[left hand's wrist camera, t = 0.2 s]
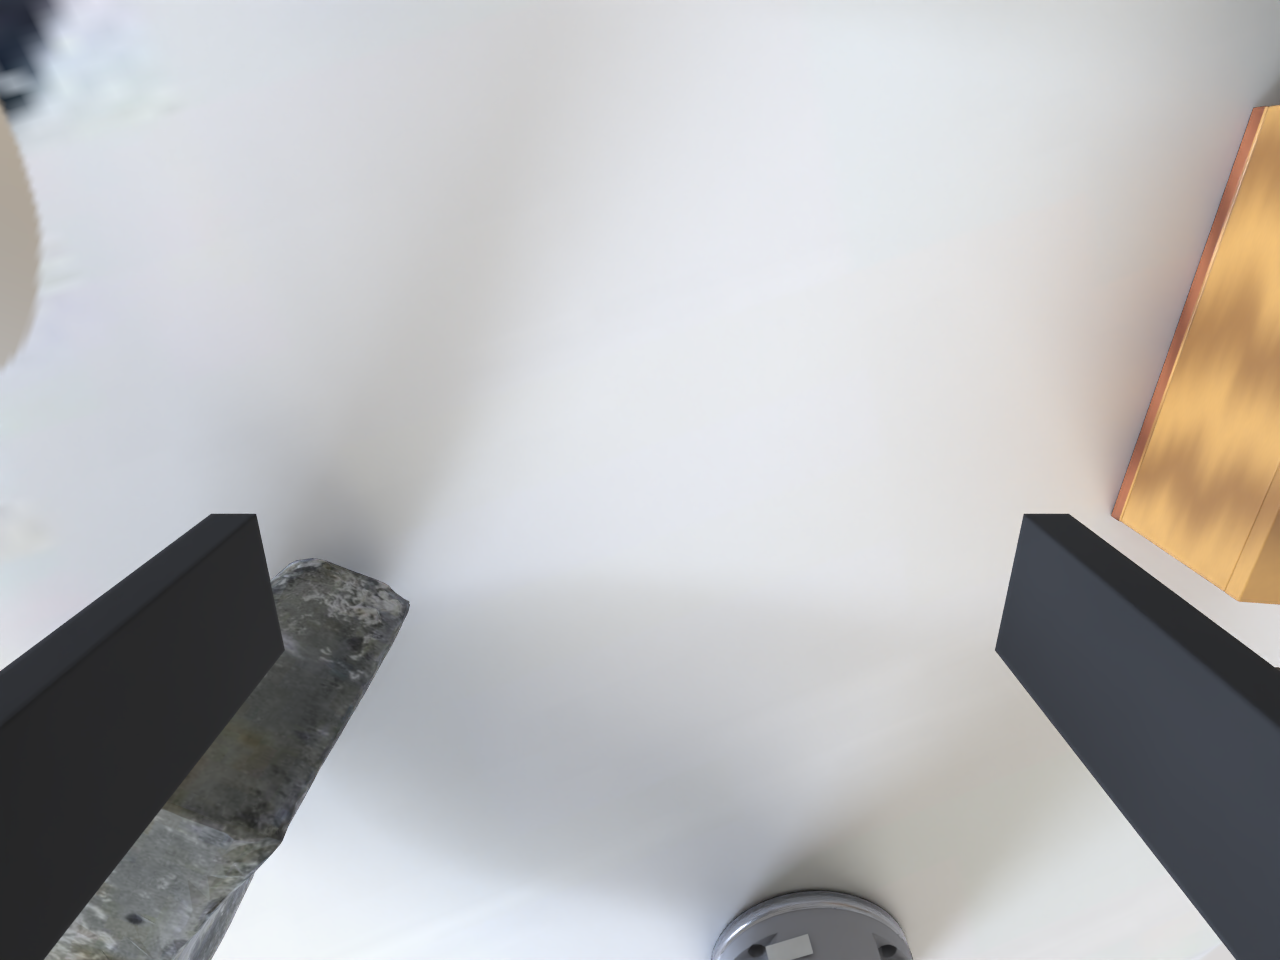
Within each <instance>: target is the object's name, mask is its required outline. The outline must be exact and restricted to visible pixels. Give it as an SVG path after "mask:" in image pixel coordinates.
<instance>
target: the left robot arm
mask: <svg viewBox="0 0 1280 960" xmlns="http://www.w3.org/2000/svg"><path fill="white" fill-rule="evenodd" d="M284 651H285V648H284V643H283V639H282V634H281V629H280V625H279V620H278V615H277V610H276V606H275V601H274V596H273V591H272V587H271V582H270V577H269V573H268V568H267V563H266V558H265V554H264V549H263V544H262V539H261V535H260V530H259V525H258V521H257V516H256V514H210V515H209V516H208V517H206V518H205V519H204V520H202V521H201V522H200V523H198V524H197V525H196V526H194V527H193V528H192V529H190V530H189V531H188V532H186V533H185V534H184V535H182V536H181V537H180V538H178V539H177V540H176V541H174V542H173V543H172V544H170V545H169V546H168V547H166V548H165V549H164V550H162V551H161V552H160V553H158V554H157V555H155V556H154V557H153V558H151V559H150V560H149V561H147V562H146V563H145V564H143V565H142V566H141V567H139V568H138V569H137V570H135V571H134V572H133V573H131V574H130V575H129V576H127V577H126V578H125V579H123V580H122V581H121V582H119V583H118V584H117V585H115V586H114V587H113V588H111V589H110V590H109V591H107V592H106V593H105V594H103V595H102V596H100V597H99V598H98V599H96V600H95V601H94V602H92V603H91V604H90V605H88V606H87V607H86V608H84V609H83V610H82V611H80V612H79V613H78V614H76V615H75V616H74V617H72V618H71V619H70V620H68V621H67V622H66V623H64V624H63V625H62V626H60V627H59V628H58V629H56V630H55V631H54V632H52V633H51V634H50V635H48V636H47V637H46V638H44V639H43V640H41V641H40V642H39V643H37V644H36V645H35V646H33V647H32V648H31V649H29V650H28V651H27V652H25V653H24V654H23V655H21V656H20V657H19V658H17V659H16V660H15V661H13V662H12V663H11V664H9V665H8V666H7V667H5V668H4V669H3V670H1V671H0V960H44V959H45V958H46V956H47V955H48V954H49V952H50V951H51V950H52V949H53V947H54V946H55V945H56V943H57V942H58V941H59V940H60V938H61V937H62V936H63V934H64V933H65V932H66V931H67V929H68V928H69V927H70V925H71V924H72V923H73V922H74V920H75V919H76V918H77V917H78V915H79V914H80V913H81V911H82V910H83V909H84V908H85V906H86V905H87V904H88V902H89V901H90V900H91V899H92V897H93V896H94V895H95V893H96V892H97V891H98V890H99V888H100V887H101V886H102V884H103V883H104V882H105V881H106V879H107V878H108V877H109V875H110V874H111V873H112V872H113V870H114V869H115V868H116V866H117V865H118V864H119V863H120V861H121V860H122V859H123V857H124V856H125V855H126V854H127V852H128V851H129V850H130V848H131V847H132V846H133V845H134V843H135V842H136V841H137V839H138V838H139V837H140V836H141V834H142V833H143V832H144V830H145V829H146V828H147V827H148V825H149V824H150V823H151V821H152V820H153V819H154V818H155V816H156V815H157V814H158V813H159V811H160V810H161V809H162V807H163V806H164V805H165V804H166V802H167V801H168V800H169V798H170V797H171V796H172V795H173V793H174V792H175V791H176V789H177V788H178V787H179V786H180V784H181V783H182V782H183V780H184V779H185V778H186V777H187V775H188V774H189V773H190V771H191V770H192V769H193V768H194V766H195V765H196V764H197V762H198V761H199V760H200V759H201V757H202V756H203V755H204V753H205V752H206V751H207V750H208V748H209V747H210V746H211V744H212V743H213V742H214V741H215V739H216V738H217V737H218V735H219V734H220V733H221V732H222V730H223V729H224V728H225V726H226V725H227V724H228V723H229V721H230V720H231V719H232V717H233V716H234V715H235V714H236V712H237V711H238V710H239V708H240V707H241V706H242V705H243V703H244V702H245V701H246V700H247V698H248V697H249V696H250V694H251V693H252V692H253V691H254V689H255V688H256V687H257V685H258V684H259V683H260V682H261V680H262V679H263V678H264V676H265V675H266V674H267V673H268V671H269V670H270V669H271V667H272V666H273V665H274V664H275V662H276V661H277V660H278V658H279V657H280V656H281V655H282V653H283V652H284ZM995 651H996V652H997V653H998V655H999V656H1000V657H1001V658H1002V660H1003V661H1004V662H1005V664H1006V665H1007V666H1008V667H1009V669H1010V670H1011V671H1012V673H1013V674H1014V675H1015V676H1016V678H1017V679H1018V680H1019V682H1020V683H1021V684H1022V685H1023V687H1024V688H1025V689H1026V691H1027V692H1028V693H1029V694H1030V696H1031V697H1032V698H1033V700H1034V701H1035V702H1036V703H1037V705H1038V706H1039V707H1040V708H1041V710H1042V711H1043V712H1044V714H1045V715H1046V716H1047V717H1048V719H1049V720H1050V721H1051V723H1052V724H1053V725H1054V726H1055V728H1056V729H1057V730H1058V732H1059V733H1060V734H1061V735H1062V737H1063V738H1064V739H1065V741H1066V742H1067V743H1068V744H1069V746H1070V747H1071V748H1072V750H1073V751H1074V752H1075V753H1076V755H1077V756H1078V757H1079V759H1080V760H1081V761H1082V762H1083V764H1084V765H1085V766H1086V768H1087V769H1088V770H1089V771H1090V773H1091V774H1092V775H1093V777H1094V778H1095V779H1096V780H1097V782H1098V783H1099V784H1100V786H1101V787H1102V788H1103V789H1104V791H1105V792H1106V793H1107V795H1108V796H1109V797H1110V798H1111V800H1112V801H1113V802H1114V804H1115V805H1116V806H1117V807H1118V809H1119V810H1120V811H1121V813H1122V814H1123V815H1124V816H1125V818H1126V819H1127V820H1128V821H1129V823H1130V824H1131V825H1132V827H1133V828H1134V829H1135V830H1136V832H1137V833H1138V834H1139V836H1140V837H1141V838H1142V839H1143V841H1144V842H1145V843H1146V845H1147V846H1148V847H1149V848H1150V850H1151V851H1152V852H1153V854H1154V855H1155V856H1156V857H1157V859H1158V860H1159V861H1160V863H1161V864H1162V865H1163V866H1164V868H1165V869H1166V870H1167V872H1168V873H1169V874H1170V875H1171V877H1172V878H1173V879H1174V881H1175V882H1176V883H1177V884H1178V886H1179V887H1180V888H1181V890H1182V891H1183V892H1184V893H1185V895H1186V896H1187V897H1188V899H1189V900H1190V901H1191V902H1192V904H1193V905H1194V906H1195V908H1196V909H1197V910H1198V911H1199V913H1200V914H1201V915H1202V917H1203V918H1204V919H1205V920H1206V922H1207V923H1208V924H1209V926H1210V927H1211V928H1212V929H1213V931H1214V932H1215V933H1216V934H1217V936H1218V937H1219V938H1220V940H1221V941H1222V942H1223V943H1224V945H1225V946H1226V947H1227V949H1228V950H1229V951H1230V952H1231V954H1232V955H1233V956H1234V958H1235V959H1236V960H1280V668H1279V667H1273V666H1272V665H1271V664H1269V663H1268V662H1267V661H1265V660H1264V659H1263V658H1261V657H1260V656H1259V655H1257V654H1256V653H1255V652H1253V651H1252V650H1251V649H1249V648H1248V647H1247V646H1245V645H1244V644H1243V643H1241V642H1240V641H1239V640H1237V639H1236V638H1234V637H1233V636H1232V635H1230V634H1229V633H1228V632H1226V631H1225V630H1224V629H1222V628H1221V627H1220V626H1218V625H1217V624H1216V623H1214V622H1213V621H1212V620H1210V619H1209V618H1208V617H1206V616H1205V615H1204V614H1202V613H1201V612H1200V611H1198V610H1197V609H1196V608H1194V607H1193V606H1192V605H1190V604H1189V603H1188V602H1186V601H1185V600H1184V599H1182V598H1181V597H1180V596H1178V595H1177V594H1175V593H1174V592H1173V591H1171V590H1170V589H1169V588H1167V587H1166V586H1165V585H1163V584H1162V583H1161V582H1159V581H1158V580H1157V579H1155V578H1154V577H1153V576H1151V575H1150V574H1149V573H1147V572H1146V571H1145V570H1143V569H1142V568H1141V567H1139V566H1138V565H1137V564H1135V563H1134V562H1133V561H1131V560H1130V559H1129V558H1127V557H1126V556H1125V555H1123V554H1122V553H1120V552H1119V551H1118V550H1116V549H1115V548H1114V547H1112V546H1111V545H1110V544H1108V543H1107V542H1106V541H1104V540H1103V539H1102V538H1100V537H1099V536H1098V535H1096V534H1095V533H1094V532H1092V531H1091V530H1090V529H1088V528H1087V527H1086V526H1084V525H1083V524H1082V523H1080V522H1079V521H1078V520H1076V519H1075V518H1074V517H1072V516H1071V515H1070V514H1024V516H1023V521H1022V525H1021V530H1020V535H1019V539H1018V544H1017V549H1016V554H1015V558H1014V563H1013V568H1012V573H1011V577H1010V582H1009V587H1008V591H1007V596H1006V601H1005V606H1004V610H1003V615H1002V620H1001V625H1000V629H999V634H998V639H997V643H996V648H995ZM711 960H913V958H912V954H911V951H910V949H909V946H908V943H907V940H906V937H905V935H904V933H903V931H902V929H901V927H900V926H899V924H898V923H897V922H896V921H895V920H894V918H893V917H892V916H891V915H889V914H888V913H887V912H886V911H884V910H883V909H882V908H880V907H879V906H877V905H875V904H873V903H871V902H869V901H867V900H865V899H862V898H859V897H856V896H852V895H849V894H844V893H839V892H830V891H806V892H797V893H792V894H786V895H782V896H778V897H775V898H772V899H769V900H767V901H764V902H762V903H760V904H758V905H756V906H754V907H752V908H750V909H748V910H747V911H745V912H743V913H742V914H741V915H739V916H738V917H737V918H736V919H734V920H733V921H732V922H731V923H730V924H729V925H728V926H727V927H726V928H725V930H724V931H723V932H722V934H721V935H720V937H719V938H718V940H717V942H716V944H715V947H714V950H713V953H712V959H711Z"/></svg>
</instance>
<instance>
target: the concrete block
mask: <svg viewBox="0 0 1280 960" xmlns="http://www.w3.org/2000/svg"><path fill="white" fill-rule="evenodd" d="M270 582H271V587H272V591H273V596H274V601H275V606H276V610H277V615H278V620H279V625H280V629H281V634H282V639H283V643H284V648H285V651H284V652H283V653H282V655H281V656H280V657H279V658H278V660H277V661H276V662H275V664H274V665H273V666H272V667H271V669H270V670H269V671H268V673H267V674H266V675H265V676H264V678H263V679H262V680H261V682H260V683H259V684H258V685H257V687H256V688H255V689H254V691H253V692H252V693H251V694H250V696H249V697H248V698H247V700H246V701H245V702H244V703H243V705H242V706H241V707H240V708H239V710H238V711H237V712H236V714H235V715H234V716H233V717H232V719H231V720H230V721H229V723H228V724H227V725H226V726H225V728H224V729H223V730H222V732H221V733H220V734H219V735H218V737H217V738H216V739H215V741H214V742H213V743H212V744H211V746H210V747H209V748H208V750H207V751H206V752H205V753H204V755H203V756H202V757H201V759H200V760H199V761H198V762H197V764H196V765H195V766H194V768H193V769H192V770H191V771H190V773H189V774H188V775H187V777H186V778H185V779H184V780H183V782H182V783H181V784H180V786H179V787H178V788H177V789H176V791H175V792H174V793H173V795H172V796H171V797H170V798H169V800H168V801H167V802H166V804H165V805H164V806H163V807H162V809H161V810H160V811H159V813H158V814H157V815H156V816H155V818H154V819H153V820H152V821H151V823H150V824H149V825H148V827H147V828H146V829H145V830H144V832H143V833H142V834H141V836H140V837H139V838H138V839H137V841H136V842H135V843H134V845H133V846H132V847H131V848H130V850H129V851H128V852H127V854H126V855H125V856H124V857H123V859H122V860H121V861H120V863H119V864H118V865H117V866H116V868H115V869H114V870H113V872H112V873H111V874H110V875H109V877H108V878H107V879H106V881H105V882H104V883H103V884H102V886H101V887H100V888H99V890H98V891H97V892H96V893H95V895H94V896H93V897H92V899H91V900H90V901H89V902H88V904H87V905H86V906H85V908H84V909H83V910H82V911H81V913H80V914H79V915H78V917H77V918H76V919H75V920H74V922H73V923H72V924H71V925H70V927H69V928H68V929H67V931H66V932H65V933H64V934H63V936H62V937H61V938H60V940H59V941H58V942H57V943H56V945H55V946H54V947H53V949H52V950H51V951H50V952H49V954H48V955H47V956H46V958H45V959H44V960H211V959H212V957H213V955H214V954H215V952H216V950H217V948H218V946H219V945H220V943H221V941H222V939H223V937H224V935H225V933H226V931H227V929H228V928H229V926H230V924H231V922H232V920H233V917H234V915H235V913H236V911H237V909H238V907H239V905H240V903H241V901H242V899H243V897H244V894H245V892H246V890H247V888H248V886H249V884H250V882H251V880H252V878H253V876H254V873H255V871H256V870H257V869H258V868H259V867H260V866H261V865H262V864H263V863H264V862H265V861H266V860H267V859H268V857H269V856H270V855H271V854H272V853H273V852H274V851H275V850H276V849H277V847H278V846H279V845H280V844H281V842H282V841H283V838H284V836H285V833H286V831H287V828H288V826H289V824H290V822H291V821H292V819H293V817H294V815H295V814H296V812H297V810H298V808H299V807H300V805H301V803H302V801H303V799H304V797H305V796H306V794H307V792H308V790H309V788H310V786H311V785H312V783H313V781H314V779H315V777H316V775H317V773H318V771H319V769H320V768H321V766H322V764H323V763H324V761H325V759H326V758H327V756H328V754H329V753H330V751H331V749H332V748H333V746H334V744H335V743H336V741H337V739H338V738H339V736H340V734H341V733H342V731H343V729H344V728H345V726H346V724H347V722H348V721H349V719H350V717H351V715H352V714H353V712H354V710H355V709H356V707H357V705H358V704H359V702H360V700H361V699H362V697H363V695H364V694H365V692H366V690H367V688H368V686H369V685H370V683H371V681H372V679H373V678H374V676H375V674H376V672H377V670H378V669H379V667H380V665H381V663H382V661H383V659H384V658H385V656H386V654H387V653H388V651H389V650H390V648H391V646H392V644H393V642H394V640H395V638H396V636H397V634H398V632H399V630H400V628H401V626H402V623H403V621H404V619H405V617H406V615H407V613H408V610H409V607H410V604H409V601H407V600H405V599H403V598H402V597H401V596H399V595H398V594H396V593H395V592H394V591H393V590H392V589H391V588H390V586H389V585H387V584H385V583H383V582H380V581H378V580H376V579H373V578H370V577H367V576H364V575H362V574H359V573H356V572H354V571H351V570H348V569H346V568H343V567H340V566H338V565H335V564H333V563H330V562H328V561H325V560H320V559H314V558H311V559H304V560H297V561H295V562H292V563H290V564H289V565H288V566H287V567H286V568H285V569H283V570H282V571H281V572H280V573H279V574H278V575H276V576H275V577H274V578H273V579H272V580H271V581H270Z"/></svg>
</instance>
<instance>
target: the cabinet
mask: <svg viewBox="0 0 1280 960" xmlns="http://www.w3.org/2000/svg"><path fill="white" fill-rule="evenodd" d="M1111 516H1112V517H1114V518H1115V519H1117V520H1118V521H1121V522H1122V523H1124V524H1125V525H1127V526H1128V527H1130V528H1131V529H1133V530H1134V531H1136V532H1137V533H1139V534H1140V535H1142V536H1143V537H1145V538H1146V539H1147V540H1149V541H1150V542H1152V543H1153V544H1155V545H1156V546H1158V547H1159V548H1161V549H1162V550H1164V551H1165V552H1167V553H1168V554H1170V555H1171V556H1173V557H1174V558H1175V559H1177V560H1178V561H1180V562H1181V563H1183V564H1184V565H1186V566H1187V567H1189V568H1190V569H1192V570H1193V571H1195V572H1196V573H1198V574H1199V575H1200V576H1202V577H1203V578H1205V579H1206V580H1208V581H1209V582H1211V583H1212V584H1214V585H1215V586H1217V587H1218V588H1220V589H1221V590H1223V591H1224V592H1225V593H1227V594H1228V595H1230V596H1231V597H1232V598H1234V599H1235V600H1237V601H1239V602H1252V603H1266V604H1280V105H1275V106H1263V107H1256V108H1253V111H1252V114H1251V116H1250V119H1249V122H1248V125H1247V128H1246V131H1245V134H1244V136H1243V139H1242V142H1241V145H1240V148H1239V151H1238V154H1237V157H1236V159H1235V162H1234V165H1233V168H1232V171H1231V174H1230V177H1229V179H1228V182H1227V185H1226V188H1225V191H1224V194H1223V197H1222V200H1221V202H1220V205H1219V208H1218V211H1217V214H1216V217H1215V220H1214V222H1213V225H1212V228H1211V231H1210V234H1209V237H1208V240H1207V242H1206V245H1205V248H1204V251H1203V254H1202V257H1201V260H1200V263H1199V265H1198V268H1197V271H1196V274H1195V277H1194V280H1193V283H1192V285H1191V288H1190V291H1189V294H1188V297H1187V300H1186V303H1185V306H1184V308H1183V311H1182V314H1181V317H1180V320H1179V323H1178V326H1177V328H1176V331H1175V334H1174V337H1173V340H1172V343H1171V346H1170V348H1169V351H1168V354H1167V357H1166V360H1165V363H1164V366H1163V369H1162V371H1161V374H1160V377H1159V380H1158V383H1157V386H1156V389H1155V391H1154V394H1153V397H1152V400H1151V403H1150V406H1149V409H1148V412H1147V414H1146V417H1145V420H1144V423H1143V426H1142V429H1141V432H1140V434H1139V437H1138V440H1137V443H1136V446H1135V449H1134V452H1133V454H1132V457H1131V460H1130V463H1129V466H1128V469H1127V472H1126V475H1125V477H1124V480H1123V483H1122V486H1121V489H1120V492H1119V495H1118V497H1117V500H1116V503H1115V506H1114V509H1113V512H1112V515H1111Z"/></svg>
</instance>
